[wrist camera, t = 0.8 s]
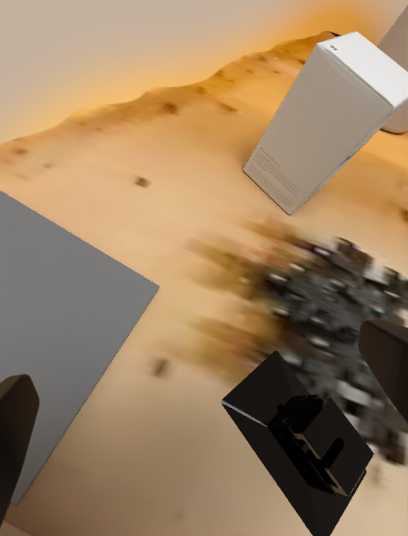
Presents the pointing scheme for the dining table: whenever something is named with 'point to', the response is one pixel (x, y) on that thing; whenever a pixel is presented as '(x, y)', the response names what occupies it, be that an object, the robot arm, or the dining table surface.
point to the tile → (11, 530)
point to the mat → (59, 319)
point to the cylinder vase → (404, 54)
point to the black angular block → (300, 442)
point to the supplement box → (326, 118)
